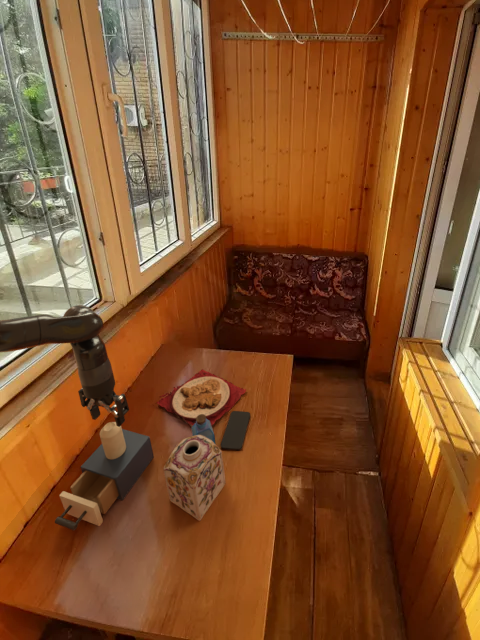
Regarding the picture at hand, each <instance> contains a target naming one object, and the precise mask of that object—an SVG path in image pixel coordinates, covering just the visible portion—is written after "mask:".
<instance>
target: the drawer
mask: <svg viewBox="0 0 480 640" xmlns="http://www.w3.org/2000/svg"><path fill="white" fill-rule="evenodd" d="M69 489H70V491H71V493H70V492H67V491H64V490H63V491H61V492H60V494H59V499H60V502H61V504H62V507H63V509H64V511H63V513H61V514H60V515H59V516H57V517H56V518H55V520H54V524H55V525H58V526H61V527H64V528H66V529H68V530H71V531H73V532H74V531H76V530H77V528H78V526H79V524H80V522H81V521H85V522H88V523H90V524H93V525H94V526H98V527H100V526H101V525H102V524H103V522H104V520H103V517H102V515H106V514H107V512H108V511H109V510H110V508H111V507H112V505H113V504H114V503H115V501H116V500H118V499H117V497H118V496H119V493H118V490H117V486H116V483H115V480H114V479H111V478H108V477H105V476H102V475H99V474H96V473H93V472H90V471H87V470H85V471H84V472H83V473H82V472H81V474H80V475H79V477H78V478H76V480H75V481H74V482H73V483H72V484H71V486H69ZM66 515H69V516H72V517H74V518H76V519H77V520H76V521H72V520H70V519H67V518H65V516H66Z"/></svg>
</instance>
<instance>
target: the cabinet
mask: <svg viewBox="0 0 480 640" xmlns="http://www.w3.org/2000/svg"><path fill="white" fill-rule="evenodd" d="M122 432H123V436H124V439H125V443H126V450H125V452H124V453H123V454H122V455H121V456H120V457H118V458H116V459H108V458H107V457H106V455H105V452H104V448H103V445H102V443H101V444H100V445H99V446H98V447H97V448H96V449H95V450H94V452H92V454H91V455H90V456H89V457H88V458H87V459H86V460H85V461H84V462H83V463H82V464H81V466H80V470H81V474H82V473H83V472H84V471H85V470H87V471H90V472H93V473H96V474H99V475H102V476H105V477H108V478H111V479H114V480H115V483H116V486H117V490H118V493H119V496H118V497H117V499H116V500H119V501H122V502H123V501H124V499H126V497H127V495H128V494H129V493H130V491H131V490H132V488H133V487H134V486H135V484H136V483H137V481H138V480H139V479H140V477H141V476H142V474H143V473H144V471H145V470H146V469H147V467H148V466H149V465H150V463H151V462H152V461H153V460H154V458H155V456H154V455H155V454H154V451H153V447H152V442H151V437H150V436H149V435H146V434H142V433H138V432H134V431H131V430H128V429H125V428H122Z"/></svg>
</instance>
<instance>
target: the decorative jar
mask: <svg viewBox="0 0 480 640" xmlns="http://www.w3.org/2000/svg"><path fill="white" fill-rule="evenodd" d="M215 444H216V443H215ZM215 444H214V442H213V441H212V440H210V439H208V438H207V437H205V436H202V435H195V436H192V435H191V436H188V437H185V438H183V439H182V440H181V441H180V442H179V443H178V444H177V445H176V446H175V447H174V448H173V450H172V451H171V453H170V455H169V457H168V458H167V460H166V462H165V464H164V466H163V468H162V469H163V476H164V480H165V485H166V490H167V495H168V498H169V501H170V502H171V503H173V504H174V505H175V506H177V507H178V508H180V509H182V510H183V511H184V512H185V513H187V514H188V515H190V516H192V517H193V518H194V519H196V520H197V521H199V522H200V521H202V519H203V517H204V516H205V515H206V513H207V512H208V510H209V509H210V508H211V506H212V505H213V503H214V502H215V500H216V499H217V497H218V496H219V494H220V493H221V491H222V490H223V488H224V487H225V485H226V474H225V472H226V471H225V465H224V458H223V452H222V449H220V447H219V446H218V445H217V444H216V445H215Z"/></svg>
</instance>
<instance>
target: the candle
mask: <svg viewBox="0 0 480 640" xmlns="http://www.w3.org/2000/svg"><path fill="white" fill-rule="evenodd" d="M122 429H123V428H122V425H121V426H120V427H118V426H117V425H116V421H110V422H107V423H106V424H105V425H103V427H102V428H101V429H100V431H99V437H100V442H101V444H102V445H103V448H104V452H105V455H106V457H107V458H108V459H116V458H118V457H120V456H121V455H122V454H123V453H124V452H125V450H126V443H125V439H124V436H123V432H122Z"/></svg>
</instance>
